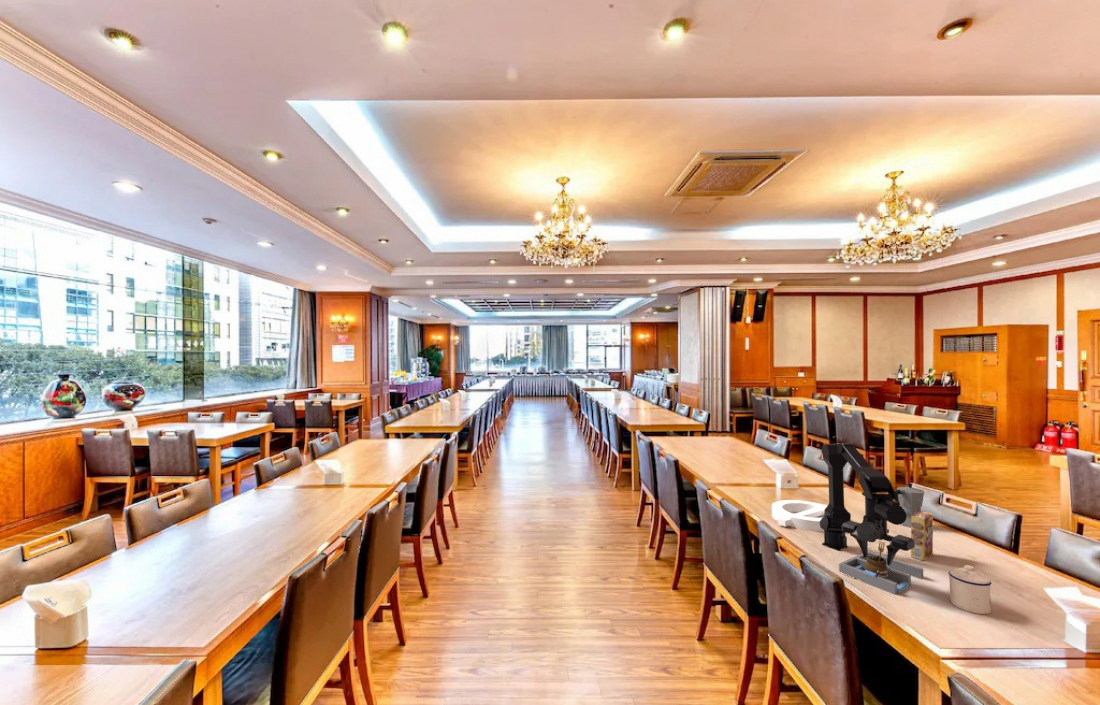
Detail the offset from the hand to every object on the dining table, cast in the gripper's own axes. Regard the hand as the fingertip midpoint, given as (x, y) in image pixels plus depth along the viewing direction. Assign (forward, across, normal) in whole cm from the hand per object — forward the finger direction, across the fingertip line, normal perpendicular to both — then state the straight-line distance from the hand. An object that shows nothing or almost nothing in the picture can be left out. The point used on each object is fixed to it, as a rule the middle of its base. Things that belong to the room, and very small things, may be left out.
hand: (876, 561), depth 143 cm
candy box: (+6, 0, +34) cm, 34 cm away
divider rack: (+6, 0, +5) cm, 8 cm away
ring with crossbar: (+7, -42, +34) cm, 55 cm away
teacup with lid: (+6, +20, +7) cm, 22 cm away
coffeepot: (+6, -16, +66) cm, 68 cm away
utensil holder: (+6, 0, 0) cm, 6 cm away
